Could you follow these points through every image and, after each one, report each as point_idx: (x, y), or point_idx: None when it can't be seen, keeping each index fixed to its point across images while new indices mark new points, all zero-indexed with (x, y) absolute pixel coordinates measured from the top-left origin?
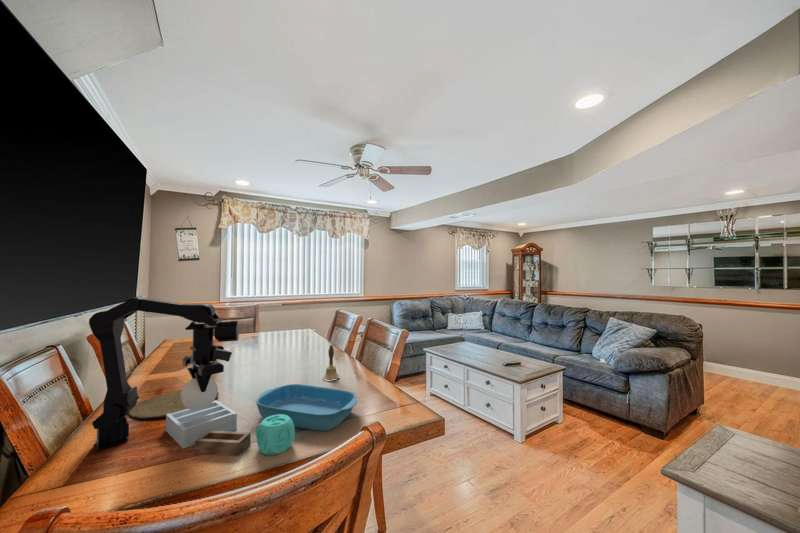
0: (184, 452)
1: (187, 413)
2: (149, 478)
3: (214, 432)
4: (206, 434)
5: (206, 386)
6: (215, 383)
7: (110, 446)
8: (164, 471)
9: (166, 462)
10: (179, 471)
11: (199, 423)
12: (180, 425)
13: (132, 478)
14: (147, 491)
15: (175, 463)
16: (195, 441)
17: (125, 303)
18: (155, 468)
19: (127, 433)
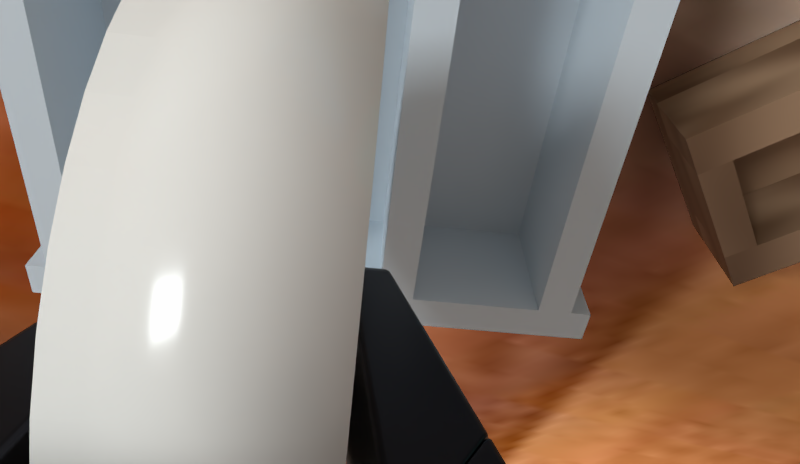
0: (606, 254)
1: (69, 107)
2: (682, 425)
3: (782, 132)
4: (735, 192)
5: (429, 351)
6: (374, 99)
7: None
8: (697, 378)
9: (614, 346)
10: (786, 344)
11: (574, 210)
12: (442, 314)
13: (599, 456)
14: (778, 455)
15: (680, 326)
16: (734, 279)
17: None
18: (617, 389)
19: None
